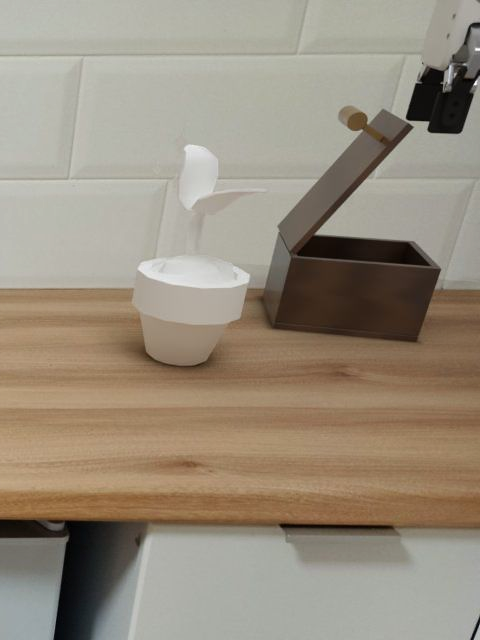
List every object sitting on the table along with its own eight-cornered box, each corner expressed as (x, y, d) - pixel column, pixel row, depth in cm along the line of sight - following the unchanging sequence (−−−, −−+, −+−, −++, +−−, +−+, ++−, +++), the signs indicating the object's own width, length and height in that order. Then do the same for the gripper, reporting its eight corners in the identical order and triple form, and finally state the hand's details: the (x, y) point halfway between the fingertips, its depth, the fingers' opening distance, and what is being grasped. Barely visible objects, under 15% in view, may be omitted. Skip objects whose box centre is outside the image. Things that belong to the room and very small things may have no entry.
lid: (388, 112, 105) (352, 86, 105) (414, 127, 94) (374, 99, 94) (281, 229, 114) (248, 206, 114) (294, 255, 103) (258, 229, 103)
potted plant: (101, 345, 103) (137, 114, 90) (184, 334, 106) (230, 109, 94) (172, 387, 93) (224, 132, 80) (261, 372, 96) (324, 126, 84)
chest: (392, 309, 114) (414, 241, 110) (416, 342, 104) (441, 268, 100) (262, 297, 118) (278, 231, 114) (272, 329, 108) (291, 257, 104)
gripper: (561, -56, 82) (495, 140, 91) (500, -51, 97) (448, 118, 105) (469, -55, 84) (412, 137, 93) (423, -50, 99) (377, 115, 107)
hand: (431, 126), depth 99 cm, fingers open, 9 cm apart
